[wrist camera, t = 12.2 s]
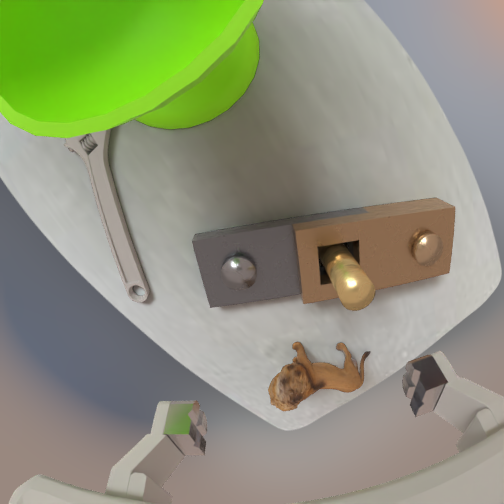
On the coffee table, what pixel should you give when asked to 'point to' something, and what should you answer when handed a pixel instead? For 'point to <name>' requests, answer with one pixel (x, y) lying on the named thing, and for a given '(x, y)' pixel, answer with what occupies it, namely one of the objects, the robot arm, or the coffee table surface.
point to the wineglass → (123, 62)
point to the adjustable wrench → (110, 208)
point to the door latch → (321, 234)
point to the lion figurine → (313, 378)
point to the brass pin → (347, 276)
